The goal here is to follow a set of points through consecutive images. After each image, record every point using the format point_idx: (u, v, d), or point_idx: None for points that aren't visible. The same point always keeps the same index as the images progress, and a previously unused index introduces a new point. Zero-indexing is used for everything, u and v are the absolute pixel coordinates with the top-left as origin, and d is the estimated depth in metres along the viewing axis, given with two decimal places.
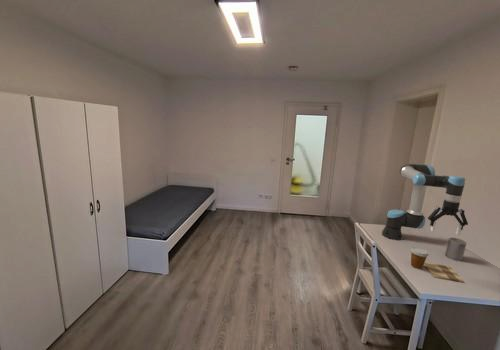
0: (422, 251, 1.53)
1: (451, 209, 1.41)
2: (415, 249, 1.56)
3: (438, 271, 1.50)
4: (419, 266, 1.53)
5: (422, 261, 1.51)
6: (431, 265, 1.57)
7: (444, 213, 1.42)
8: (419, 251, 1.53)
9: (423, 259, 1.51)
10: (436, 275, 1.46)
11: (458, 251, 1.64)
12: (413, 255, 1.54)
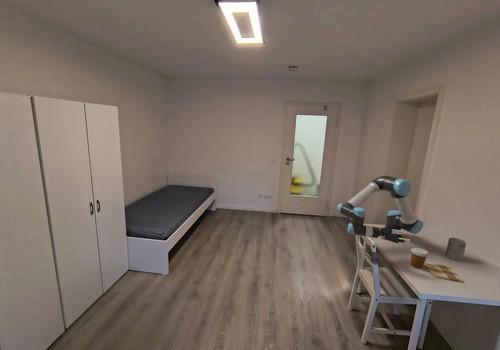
0: (422, 251, 1.53)
1: None
2: (415, 249, 1.56)
3: (438, 271, 1.50)
4: (419, 266, 1.53)
5: (422, 261, 1.51)
6: (431, 265, 1.57)
7: None
8: (419, 251, 1.53)
9: (423, 259, 1.51)
10: (436, 275, 1.46)
11: (458, 251, 1.64)
12: (413, 255, 1.54)
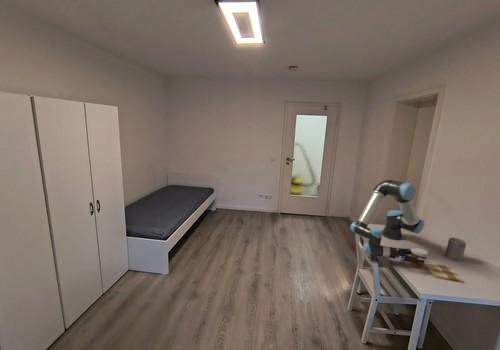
0: (422, 251, 1.53)
1: None
2: (415, 249, 1.56)
3: (438, 271, 1.50)
4: (419, 266, 1.53)
5: None
6: (431, 265, 1.57)
7: None
8: (419, 251, 1.53)
9: None
10: (436, 275, 1.46)
11: (458, 251, 1.64)
12: (413, 255, 1.54)
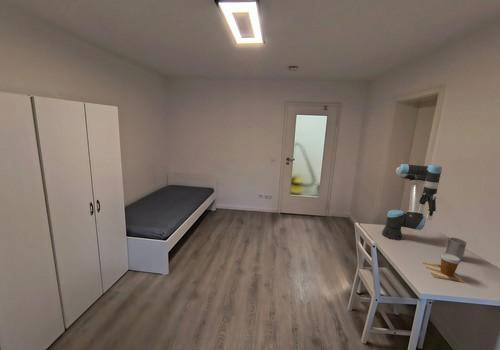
0: (453, 258, 1.45)
1: (427, 194, 1.59)
2: (446, 255, 1.48)
3: (438, 271, 1.50)
4: (449, 273, 1.45)
5: (452, 268, 1.43)
6: (431, 265, 1.57)
7: (423, 197, 1.63)
8: (450, 257, 1.45)
9: (453, 266, 1.43)
10: (436, 275, 1.46)
11: (458, 251, 1.64)
12: (442, 261, 1.47)
